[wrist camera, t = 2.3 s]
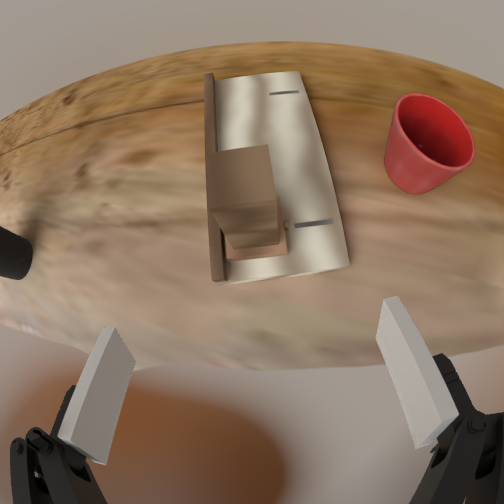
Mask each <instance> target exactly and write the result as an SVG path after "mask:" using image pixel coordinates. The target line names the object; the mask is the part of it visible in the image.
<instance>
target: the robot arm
mask: <svg viewBox="0 0 504 504" xmlns="http://www.w3.org/2000/svg"><path fill="white" fill-rule="evenodd" d="M376 341H377V343H378V346H379V348H380V350H381V353H382V355H383V358H384V360H385V363H386V365H387V368H388V370H389V373H390V375H391V378H392V381H393V384H394V386H395V389H396V392H397V394H398V397H399V400H400V403H401V406H402V408H403V411H404V414H405V417H406V420H407V423H408V426H409V429H410V432H411V436H412V438H413V442H414V445H415V448H416V449H418V448H421V447H423V446H426V445H428V444H431V443H432V442H433V441H434V440H435V439H436V438H437V440H438V444H437V445H436V446H435V447H434V448H433V449H432V450H431V452H430V453H433V452H434V451H435V452H434V454H433V456H432V459H431V461H430V463H429V466H428V468H427V470H426V472H425V474H424V476H423V478H422V480H421V483H420V484H419V486H418V488H417V490H416V492H415V494H414V496H413V497H412V499H411V501H410V503H409V504H463V502H464V499H465V497H466V500H465V504H504V412H502V413H496V414H489V415H485V414H484V413H481V412H480V411H477V410H476V409H475V408H474V406H473V405H472V403H471V400H470V398H469V396H468V394H467V392H466V390H465V388H464V386H463V384H462V382H461V380H460V379H459V376H458V374H457V372H456V370H455V368H454V366H453V364H452V363H451V361H450V360H449V359H448V358H447V357H446V356H445V355H444V354H443V353H441V354H438V355H436V356H432V355H431V354H430V352H429V350H428V348H427V346H426V344H425V342H424V340H423V339H422V337H421V335H420V333H419V331H418V329H417V328H416V326H415V324H414V322H413V321H412V319H411V317H410V315H409V314H408V312H407V310H406V309H405V307H404V305H403V304H402V302H401V300H400V299H399V297H398V296H394V297H389V298H384V299H383V305H382V310H381V315H380V320H379V325H378V329H377V334H376ZM135 362H136V361H135V359H134V358H133V356H132V354H131V353H130V351H129V350H128V348H127V346H126V345H125V343H124V342H123V340H122V338H121V337H120V335H119V333H118V331H117V330H116V328H115V327H103V329H102V331H101V333H100V335H99V337H98V339H97V341H96V343H95V345H94V348H93V350H92V352H91V354H90V356H89V358H88V361H87V363H86V365H85V367H84V370H83V372H82V374H81V377H80V379H79V381H78V383H77V386H75V385H73V386H72V387H71V388H70V389H69V390H68V391H67V393H66V395H65V397H64V400H63V403H62V405H61V407H60V410H59V412H58V415H57V417H56V420H55V423H54V426H53V428H52V431H51V434H50V435H48V434H47V433H45V432H44V431H43V430H41V429H40V428H38V427H34V428H32V429H30V430H29V431H28V433H27V434H26V437H25V440H24V439H22V438H16V439H14V440H13V441H12V443H11V447H10V470H11V486H12V496H13V504H107V502H106V500H105V498H104V496H103V494H102V492H101V490H100V488H99V486H98V484H97V482H96V480H95V478H94V476H93V474H92V471H91V469H90V467H89V465H88V463H87V462H86V461H85V460H86V457H87V458H88V459H90V460H91V461H93V462H96V463H99V464H103V465H106V464H107V460H108V455H109V452H110V447H111V444H112V439H113V436H114V432H115V428H116V424H117V421H118V418H119V414H120V411H121V407H122V404H123V400H124V397H125V394H126V390H127V387H128V384H129V381H130V378H131V375H132V371H133V368H134V365H135ZM34 471H35V472H37V473H38V477H35V473H34Z"/></svg>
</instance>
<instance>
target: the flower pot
mask: <svg viewBox="0 0 504 504" xmlns="http://www.w3.org/2000/svg"><path fill="white" fill-rule="evenodd" d="M474 155H475V146H474V141H473V137H472V135H471V132H470V130H469V128H468V127H467V125H466V124H465V122H464V121H463V120H462V118H461V117H460V116H459V115H458V114H457V113H456V112H455V111H454V110H453V109H452V108H451V107H449V106H448V105H447V104H445V103H444V102H442V101H440V100H438V99H436V98H434V97H432V96H429V95H426V94H421V93H411V94H407V95H405V96H403V97H402V98H400V99H399V101H398V102H397V104H396V106H395V110H394V114H393V118H392V123H391V128H390V133H389V138H388V143H387V148H386V153H385V158H384V164H385V169H386V172H387V174H388V176H389V178H390V179H391V180H392V182H393V183H394V184H395V185H396V186H397V187H399V188H400V189H402V190H403V191H405V192H408V193H411V194H423V193H425V192H427V191H429V190H431V189H433V188H435V187H437V186H439V185H440V184H442V183H443V182H445V181H447V180H448V179H450V178H451V177H453V176H455V175H456V174H458V173H459V172H461V171H462V170H464V169H465V168H467V167H468V166H469V165H470V164H471V162H472V161H473V158H474Z"/></svg>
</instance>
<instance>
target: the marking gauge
mask: <svg viewBox="0 0 504 504" xmlns="http://www.w3.org/2000/svg"><path fill="white" fill-rule="evenodd" d="M207 181H208V204H209V210H210V212H211V213H212V215H213V217H214V218H215V220H216V221H217V223H218V225H219V226H220V228H221V230H222V231H223V233H224V235H225V243H226V255H227V260H228V261H229V262H234V261H242V260H250V259H258V258H266V257H275V256H283V255H287V245H286V238H285V231H284V229H285V230H287V229H288V228H289V221H288V220H284V221H283V218H282V211H281V204H280V198H279V196H276V191H275V185H274V179H273V172H272V166H271V160H270V154H269V148H268V144H266V145H258V146H251V147H244V148H237V149H231V150H224V151H218V152H212V153H207Z"/></svg>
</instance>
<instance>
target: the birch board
mask: <svg viewBox="0 0 504 504" xmlns="http://www.w3.org/2000/svg"><path fill="white" fill-rule="evenodd" d="M204 106H205V162H206V190H207V212H208V230H209V247H210V262H211V276H212V280H213V281H214V282H216V283H217V284H219V285H227V284H236V283H245V282H253V281H262V280H270V279H278V278H286V277H294V276H302V275H309V274H317V273H324V272H331V271H339V270H346V269H347V268H348V267H349V266H350V263H349V258H348V252H347V247H346V242H345V236H344V231H343V227H342V222H341V217H340V212H339V208H338V203H337V199H336V195H335V191H334V187H333V182H332V178H331V174H330V171H329V167H328V163H327V159H326V156H325V152H324V148H323V145H322V141H321V138H320V134H319V131H318V128H317V124H316V121H315V118H314V115H313V112H312V109H311V105H310V102H309V99H308V96H307V93H306V90H305V88H304V85H303V82H302V79H301V76H300V74H299V71H291V72H278V73H268V74H259V75H250V76H243V77H236V78H230V79H224V80H218V81H215V80H214V76H213V73H209V74H205V82H204ZM266 144H268V148H269V154H270V160H271V166H272V172H273V179H274V185H275V191H276V196H279V198H280V204H281V211H282V218H283V221H284V220H288V221H289V228H288V229H287V230H285V229H284V231H285V238H286V245H287V255H283V256H275V257H266V258H258V259H250V260H242V261H234V262H229V261H228V260H227V255H226V243H225V235H224V233H223V231H222V230H221V228H220V226H219V225H218V223H217V221H216V220H215V218H214V217H213V215H212V213H211V212H210V210H209V204H208V181H207V153H212V152H218V151H224V150H231V149H237V148H244V147H251V146H258V145H266Z"/></svg>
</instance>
